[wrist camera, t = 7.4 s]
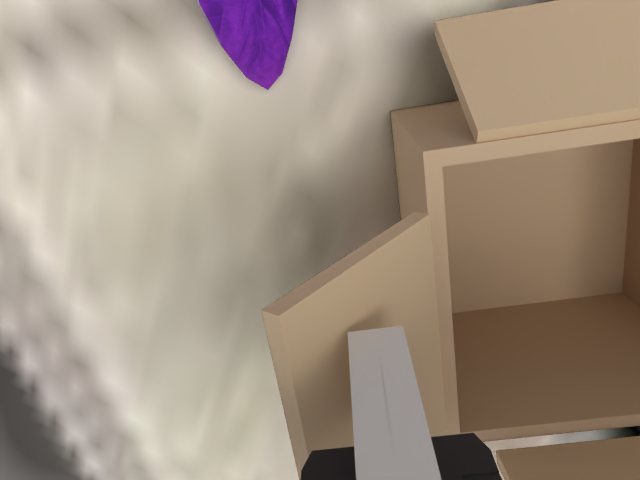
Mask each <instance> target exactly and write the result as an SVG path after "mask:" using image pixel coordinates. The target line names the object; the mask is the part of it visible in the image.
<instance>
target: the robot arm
mask: <svg viewBox="0 0 640 480" xmlns="http://www.w3.org/2000/svg"><path fill="white" fill-rule="evenodd" d="M348 348H349V365H350V383H351V400H352V417H353V434H354V446H353V447H343V448H333V449H323V450H314V451H311V453H310V455H309V457H308V459H307V461H306V463H305V464H304V466H303V468H302V470H301V480H502V478H501V476H500V475H499V471H498V468H497V466H496V463H495V460H494V458H493V455H492V453H491V450H490V449H489V448H488V447H487V446H486V445H485V444H484V443H483V442H482V441H481V440H480V439H479V438H478V437H477V436H476V435H475V434H474V433H465V434H455V435H445V436H436V437H431V436H430V432H429V428H428V424H427V420H426V416H425V412H424V408H423V404H422V400H421V396H420V392H419V388H418V384H417V380H416V376H415V372H414V368H413V364H412V360H411V356H410V352H409V348H408V344H407V340H406V336H405V332H404V328H403V326H395V327H386V328H378V329H369V330H361V331H353V332H348Z"/></svg>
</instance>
